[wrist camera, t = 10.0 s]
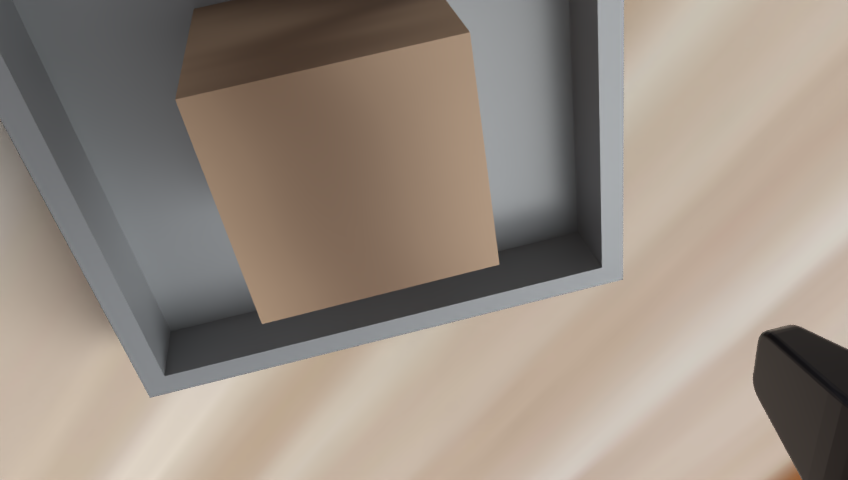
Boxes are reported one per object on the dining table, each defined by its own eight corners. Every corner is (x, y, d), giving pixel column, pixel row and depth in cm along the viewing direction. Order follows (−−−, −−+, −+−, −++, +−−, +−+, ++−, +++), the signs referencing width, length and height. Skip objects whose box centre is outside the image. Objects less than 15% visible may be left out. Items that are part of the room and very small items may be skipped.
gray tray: (575, -297, 15) (625, -302, 13) (590, 232, 23) (622, 279, 21) (-92, -169, 14) (-147, -153, 12) (159, 338, 22) (150, 397, 20)
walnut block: (415, -41, 17) (470, 32, 12) (446, 154, 19) (499, 264, 15) (193, 9, 16) (175, 99, 12) (259, 199, 19) (262, 324, 15)
